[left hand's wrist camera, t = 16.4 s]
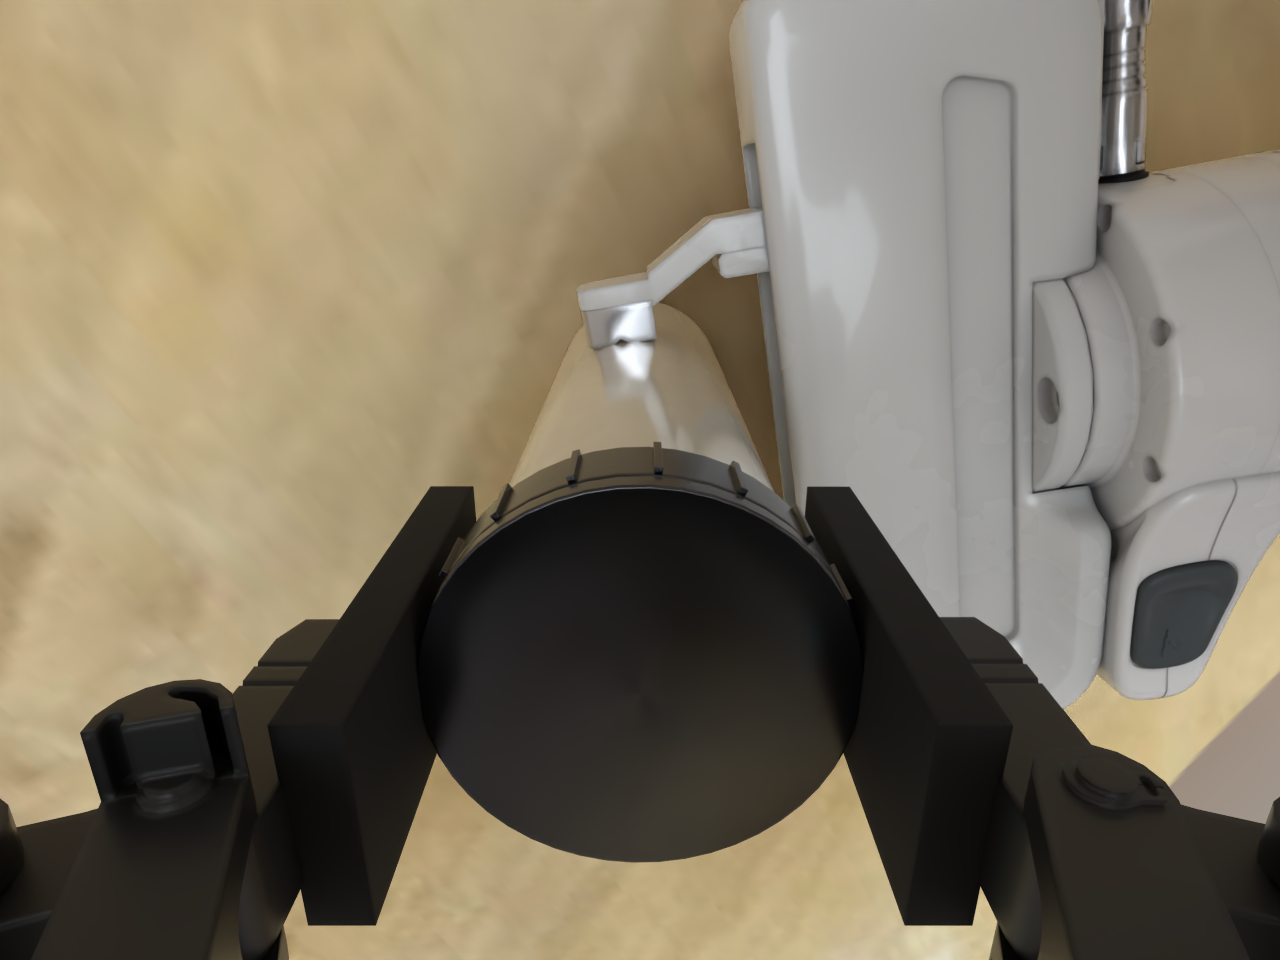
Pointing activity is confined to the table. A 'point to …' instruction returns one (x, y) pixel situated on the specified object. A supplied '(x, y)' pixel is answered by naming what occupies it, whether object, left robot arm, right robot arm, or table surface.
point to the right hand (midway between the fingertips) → (607, 441)
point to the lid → (640, 657)
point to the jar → (642, 401)
